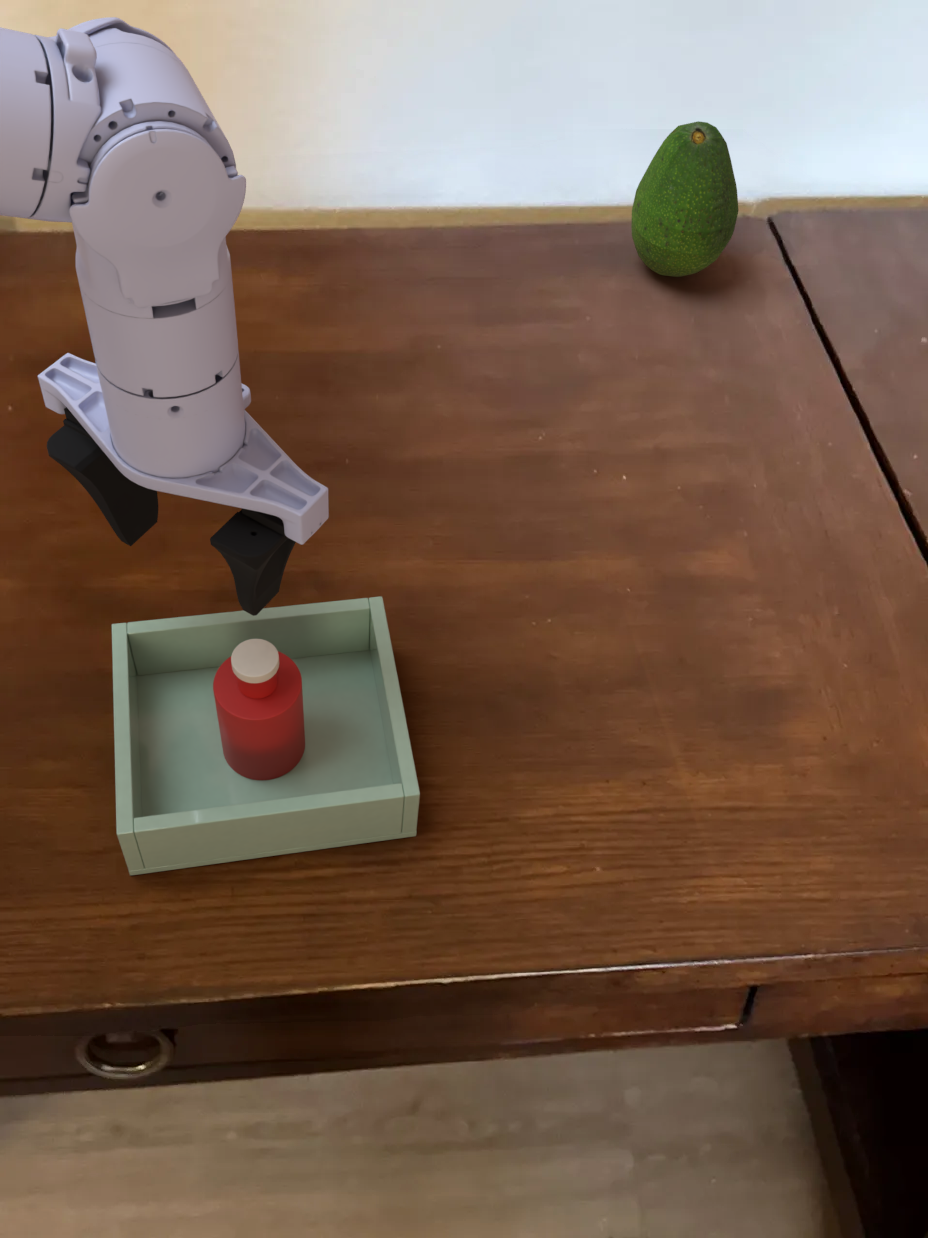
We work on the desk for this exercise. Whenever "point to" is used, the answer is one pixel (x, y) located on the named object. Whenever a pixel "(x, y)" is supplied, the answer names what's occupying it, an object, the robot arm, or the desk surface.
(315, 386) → the desk surface
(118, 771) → the tray
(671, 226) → the fruit
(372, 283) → the desk surface
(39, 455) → the desk surface
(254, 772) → the bottle
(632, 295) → the desk surface
